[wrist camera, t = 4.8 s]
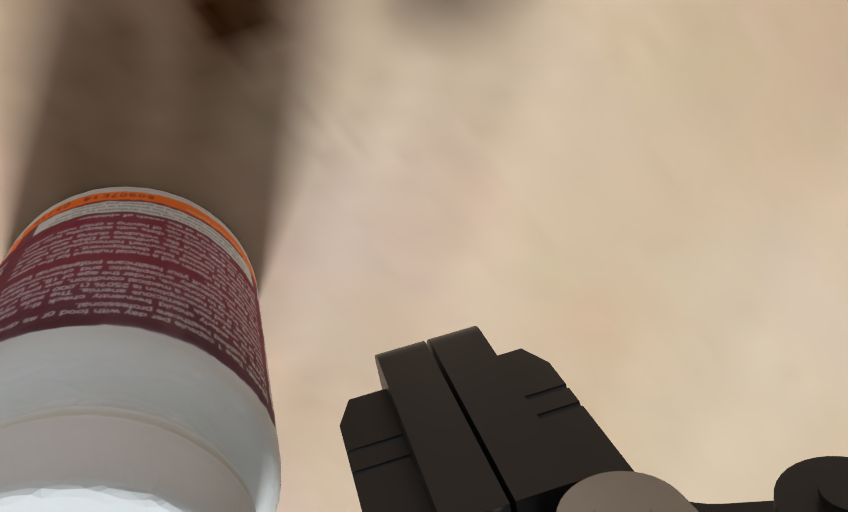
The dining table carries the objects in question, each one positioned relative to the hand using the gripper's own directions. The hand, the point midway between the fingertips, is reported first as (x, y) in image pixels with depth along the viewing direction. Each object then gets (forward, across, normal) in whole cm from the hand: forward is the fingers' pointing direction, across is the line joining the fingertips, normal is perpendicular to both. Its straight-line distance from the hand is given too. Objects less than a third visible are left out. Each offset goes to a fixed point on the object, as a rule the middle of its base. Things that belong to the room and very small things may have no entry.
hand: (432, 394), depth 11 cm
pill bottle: (+6, +5, 0) cm, 7 cm away
